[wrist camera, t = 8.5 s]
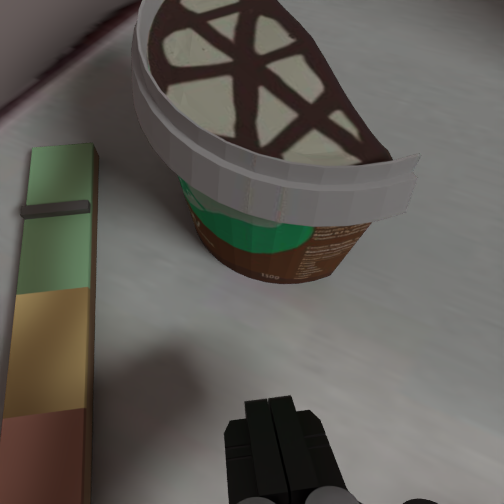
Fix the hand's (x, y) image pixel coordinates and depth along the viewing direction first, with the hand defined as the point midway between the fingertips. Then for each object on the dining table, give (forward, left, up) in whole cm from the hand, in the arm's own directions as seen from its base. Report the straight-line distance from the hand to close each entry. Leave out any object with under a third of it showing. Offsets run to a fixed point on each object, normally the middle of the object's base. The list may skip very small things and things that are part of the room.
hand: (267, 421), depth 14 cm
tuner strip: (+8, -3, -4) cm, 10 cm away
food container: (0, -10, -4) cm, 11 cm away
